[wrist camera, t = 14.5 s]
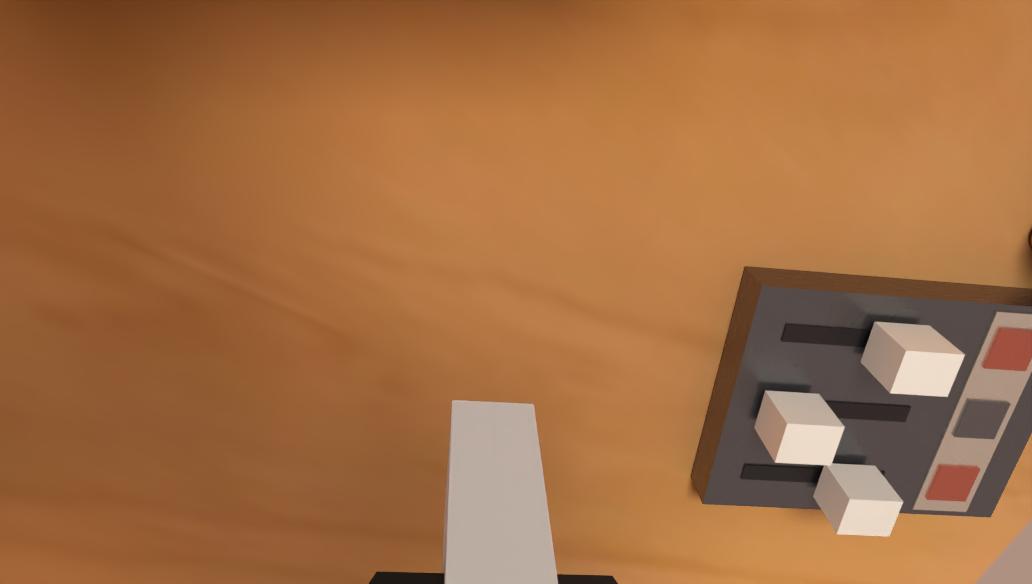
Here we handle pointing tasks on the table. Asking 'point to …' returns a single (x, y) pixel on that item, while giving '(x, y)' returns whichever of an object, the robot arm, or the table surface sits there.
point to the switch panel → (871, 390)
